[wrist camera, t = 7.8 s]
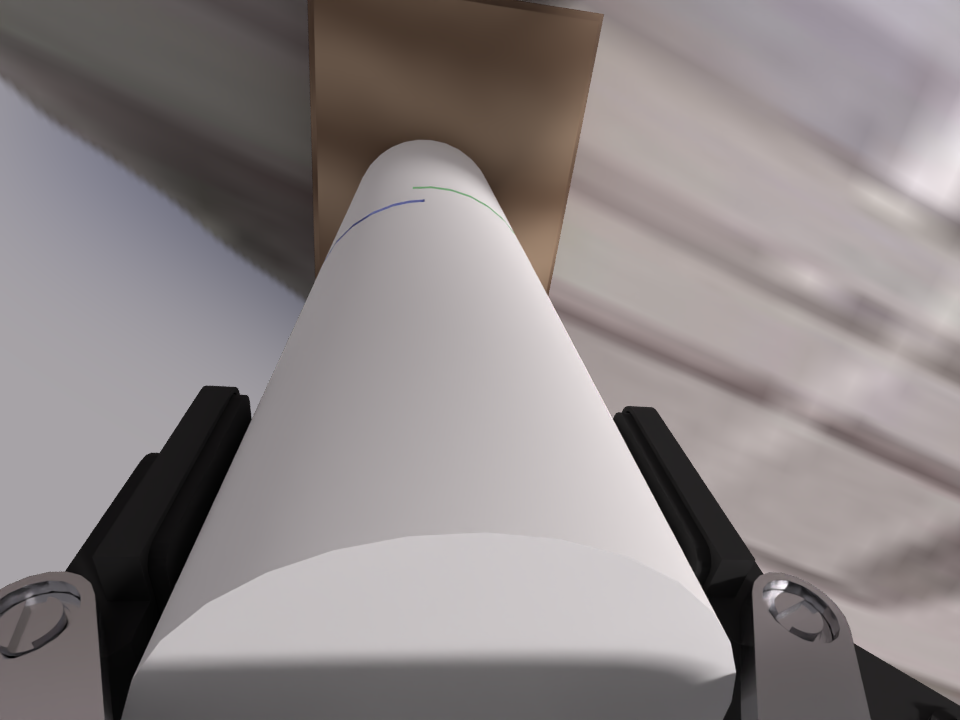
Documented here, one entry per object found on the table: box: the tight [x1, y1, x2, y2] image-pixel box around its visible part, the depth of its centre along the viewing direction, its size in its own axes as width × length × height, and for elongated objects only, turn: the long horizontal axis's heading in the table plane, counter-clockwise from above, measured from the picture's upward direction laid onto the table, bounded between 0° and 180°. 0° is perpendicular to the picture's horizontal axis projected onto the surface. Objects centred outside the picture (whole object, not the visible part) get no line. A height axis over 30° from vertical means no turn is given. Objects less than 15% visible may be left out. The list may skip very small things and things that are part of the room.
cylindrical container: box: [121, 140, 736, 720], centre depth 17 cm, size 7×7×25 cm
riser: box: [308, 0, 604, 295], centre depth 31 cm, size 16×14×6 cm
